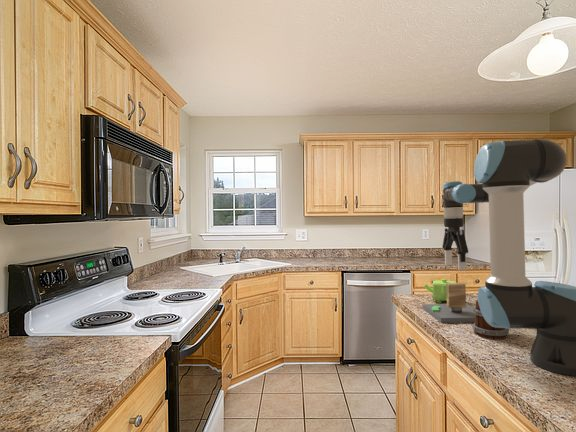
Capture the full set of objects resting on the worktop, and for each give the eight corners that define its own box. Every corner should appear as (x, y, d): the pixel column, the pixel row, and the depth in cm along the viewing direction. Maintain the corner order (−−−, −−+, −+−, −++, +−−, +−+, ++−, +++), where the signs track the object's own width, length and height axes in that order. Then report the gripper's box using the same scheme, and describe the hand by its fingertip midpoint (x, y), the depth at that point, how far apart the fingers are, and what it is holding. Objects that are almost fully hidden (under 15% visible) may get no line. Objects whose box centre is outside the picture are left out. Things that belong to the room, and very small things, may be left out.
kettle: (468, 302, 170) (467, 280, 170) (446, 306, 165) (446, 283, 165) (443, 296, 184) (443, 275, 184) (423, 300, 178) (422, 278, 178)
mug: (462, 329, 131) (467, 290, 131) (495, 332, 134) (499, 293, 134) (485, 340, 119) (491, 296, 120) (520, 343, 122) (525, 300, 123)
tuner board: (492, 322, 140) (491, 315, 140) (441, 323, 141) (440, 316, 141) (466, 307, 161) (466, 301, 161) (422, 308, 163) (422, 302, 163)
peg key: (467, 312, 147) (466, 284, 147) (450, 312, 147) (449, 284, 147) (456, 305, 158) (455, 279, 158) (440, 306, 158) (439, 279, 158)
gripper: (476, 217, 136) (478, 271, 137) (450, 217, 161) (451, 262, 162) (457, 218, 137) (458, 272, 137) (434, 217, 162) (435, 263, 162)
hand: (455, 267), depth 149 cm, fingers open, 13 cm apart
